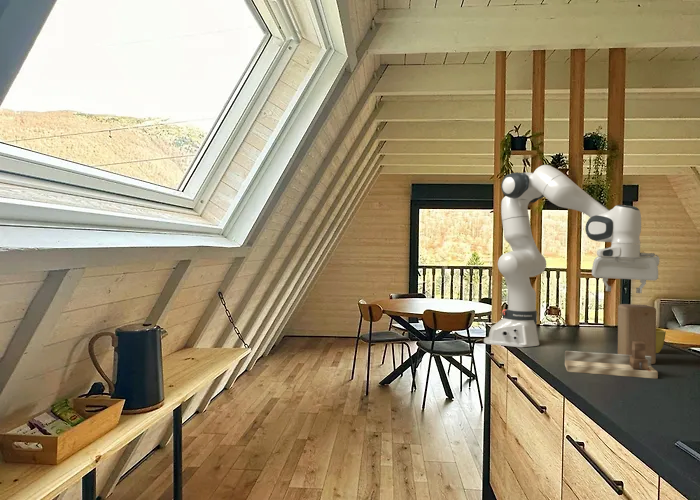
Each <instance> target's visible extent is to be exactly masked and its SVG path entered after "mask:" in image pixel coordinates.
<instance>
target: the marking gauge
mask: <svg viewBox="0 0 700 500" xmlns="http://www.w3.org/2000/svg"><path fill="white" fill-rule="evenodd" d="M630 366H631V367H632V368H633V369H643V370H648V360H647V359H646V358H645V343H644V342H640V341H632V356H630Z"/></svg>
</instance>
